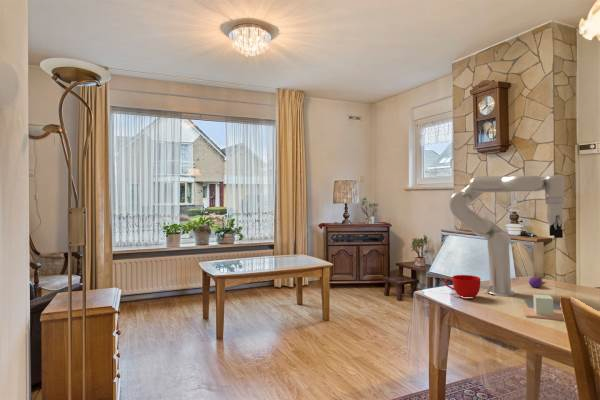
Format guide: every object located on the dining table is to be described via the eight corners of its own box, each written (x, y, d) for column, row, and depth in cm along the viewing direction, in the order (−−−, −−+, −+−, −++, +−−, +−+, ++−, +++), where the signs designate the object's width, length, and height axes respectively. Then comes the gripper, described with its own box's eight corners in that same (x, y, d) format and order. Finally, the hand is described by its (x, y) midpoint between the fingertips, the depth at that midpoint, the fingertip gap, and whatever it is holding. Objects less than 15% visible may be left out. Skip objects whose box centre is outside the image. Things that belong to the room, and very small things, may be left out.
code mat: (528, 308, 162) (528, 307, 162) (523, 300, 174) (523, 299, 174) (572, 311, 155) (572, 310, 155) (563, 302, 168) (563, 302, 168)
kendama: (545, 275, 208) (542, 279, 193) (543, 285, 209) (540, 290, 193) (533, 272, 212) (529, 276, 197) (531, 282, 212) (527, 286, 197)
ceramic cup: (447, 292, 194) (447, 273, 194) (482, 295, 184) (481, 276, 184) (442, 298, 183) (441, 278, 183) (479, 302, 173) (478, 281, 173)
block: (536, 314, 150) (535, 297, 150) (533, 310, 156) (533, 294, 156) (553, 316, 148) (553, 299, 148) (550, 311, 153) (549, 295, 153)
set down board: (526, 317, 150) (525, 315, 150) (522, 310, 159) (522, 308, 159) (566, 320, 144) (566, 318, 144) (560, 313, 153) (560, 311, 153)
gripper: (541, 201, 182) (543, 234, 182) (549, 201, 167) (550, 238, 167) (559, 200, 179) (560, 235, 179) (569, 201, 164) (570, 238, 163)
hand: (556, 236), depth 173 cm, fingers open, 9 cm apart
